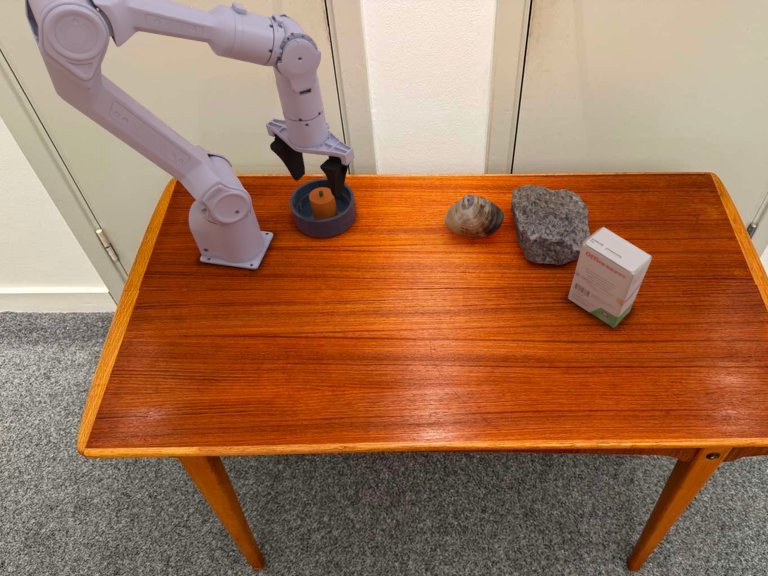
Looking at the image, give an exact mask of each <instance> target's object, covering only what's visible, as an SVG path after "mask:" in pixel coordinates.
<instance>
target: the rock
mask: <svg viewBox="0 0 768 576" xmlns="http://www.w3.org/2000/svg"><path fill="white" fill-rule="evenodd" d="M511 193H512V196H511V199H510V200H511V201H510V204H511V207H510V212H511V216H512V218H513V221H514V222H513V223H514V228H515V234H516V240H517V243H518V245H519V247H520V248H521V249H522V251H523V252H522V253H523V254H524V258H525V259H526V260H527V261H530V262H531V263H535V264H544V265H547V264H549V265H556V266H560V265H561V266H562V265H564V264H565V265H566V264H568V262H574V261H577V260H578V259H579V255H580V252H581V248H582V244H583V242H584V241H585V240H586V239H588V238H589V237H590V236H591V232H590V227H589V217H590V216H589V206H588V204H586V203H585V202H584V201H583V200H582V199H583V198H582V197H581V195H580V194H576V193H575V191H572V190H569V189H566V188H565V189H564V188H563V189H549V188H548V187H545V186H544V185H536V184H526V185H521V186H519V187H515V188H514V189H513V190H512V192H511Z"/></svg>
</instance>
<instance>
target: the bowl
mask: <svg viewBox="0 0 768 576" xmlns="http://www.w3.org/2000/svg"><path fill="white" fill-rule="evenodd" d="M320 187H326V188H329V189H330V185H329V182H328V179H327V177H324V178H315V179H311V180H308V181H306V182H304V183H301V185H299V186H298V187H296V189H294V191H293V192H292V193H291V195H290V198H289V209H290V213H291V216H292V220H293V223H294V226H295V227H296V228H297V229H298V230H299V231H300V232H301V233H302V234H305V235H307V236H310V237H314V238H331V237H336V236H338V235H340V234H342V233H344V232H345V231H347V230H348V229H350V227H351V226H352V225H353V224H354V223H355V221H356V217H357V215H358V214H357V206H356V205H357V204H356V198H355V193H354V192H353V189H352V188H351V187H350V185H348V184H347V183H345V184H344V191H343V192H342V193H341V194H340V195H339V196H338V197H335V202H336V208H337V213H338V214H337V216H335V217H332V218H329V219H322V220H315V219H314V217H313V212H312V208H311V204H310V199H309V195H310V193H311V192H312V191H313V190H314V189H316V188H320Z"/></svg>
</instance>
